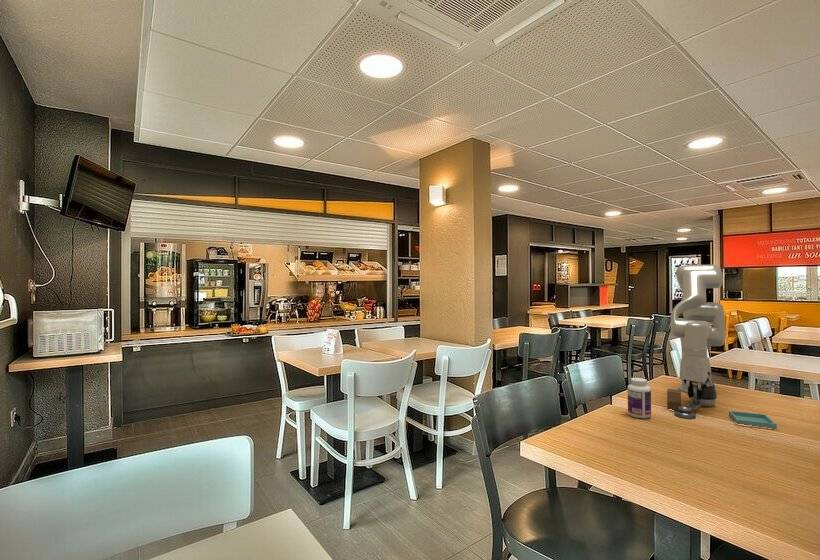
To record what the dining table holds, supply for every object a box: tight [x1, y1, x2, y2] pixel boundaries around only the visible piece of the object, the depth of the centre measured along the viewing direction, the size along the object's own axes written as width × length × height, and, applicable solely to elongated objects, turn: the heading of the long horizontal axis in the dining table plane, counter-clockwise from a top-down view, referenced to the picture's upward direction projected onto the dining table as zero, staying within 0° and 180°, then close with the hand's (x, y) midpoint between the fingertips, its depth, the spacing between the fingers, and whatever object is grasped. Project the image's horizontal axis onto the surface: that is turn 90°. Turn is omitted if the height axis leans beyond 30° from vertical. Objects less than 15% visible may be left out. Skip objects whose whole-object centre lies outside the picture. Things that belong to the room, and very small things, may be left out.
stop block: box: [666, 388, 682, 410], centre depth 167 cm, size 4×4×8 cm
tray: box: [728, 410, 778, 429], centre depth 152 cm, size 11×11×2 cm
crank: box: [679, 381, 701, 413], centre depth 163 cm, size 15×4×10 cm, turn 125°
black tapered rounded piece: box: [686, 376, 718, 407], centre depth 174 cm, size 10×10×15 cm
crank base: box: [673, 409, 697, 420], centre depth 160 cm, size 7×7×2 cm
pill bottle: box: [627, 377, 652, 419], centre depth 160 cm, size 8×8×14 cm
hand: (695, 397), depth 166 cm, fingers closed on crank, 2 cm apart
